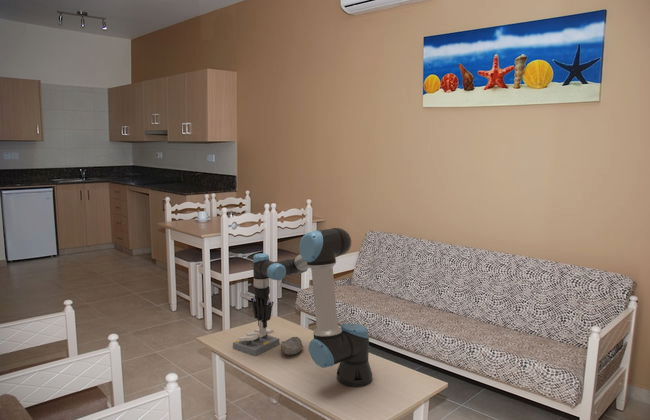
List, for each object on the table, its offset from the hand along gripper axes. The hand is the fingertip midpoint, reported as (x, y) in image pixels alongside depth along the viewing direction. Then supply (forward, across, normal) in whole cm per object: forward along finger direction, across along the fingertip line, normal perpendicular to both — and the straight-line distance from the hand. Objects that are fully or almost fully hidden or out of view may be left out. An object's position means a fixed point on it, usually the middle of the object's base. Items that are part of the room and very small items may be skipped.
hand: (262, 333), depth 239 cm
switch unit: (+8, +4, 0) cm, 9 cm away
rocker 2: (+2, +4, 0) cm, 5 cm away
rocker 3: (+2, +4, -6) cm, 7 cm away
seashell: (+8, -14, -5) cm, 17 cm away
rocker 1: (+2, +4, +6) cm, 7 cm away
